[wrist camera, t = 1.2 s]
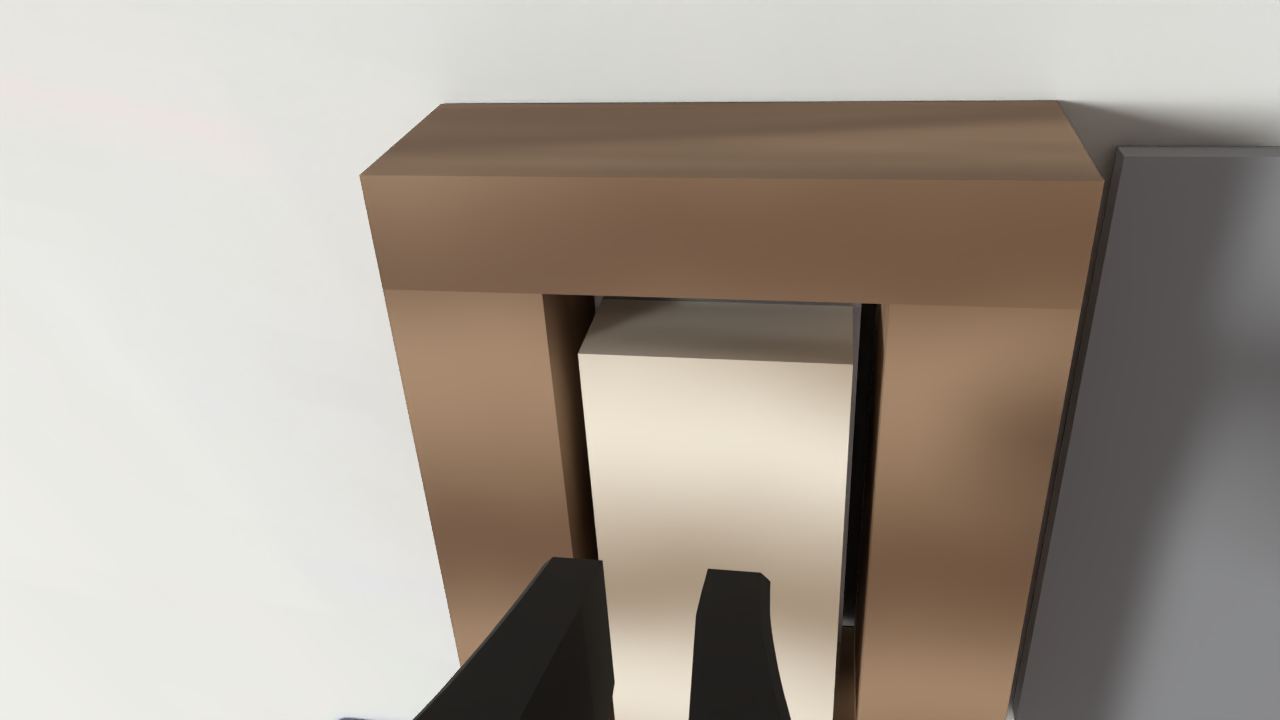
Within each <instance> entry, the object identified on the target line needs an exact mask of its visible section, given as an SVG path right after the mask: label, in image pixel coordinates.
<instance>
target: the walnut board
mask: <svg viewBox="0 0 1280 720" xmlns="http://www.w3.org/2000/svg"><path fill="white" fill-rule="evenodd" d="M359 176H360V180H361V185H362V190H363V195H364V200H365V205H366V210H367V214H368V219H369V224H370V229H371V234H372V239H373V244H374V248H375V253H376V258H377V263H378V268H379V273H380V278H381V282H382V287H383V292H384V297H385V302H386V307H387V312H388V316H389V321H390V326H391V331H392V336H393V341H394V346H395V350H396V355H397V360H398V365H399V370H400V375H401V380H402V384H403V389H404V394H405V399H406V404H407V409H408V414H409V419H410V423H411V428H412V433H413V438H414V443H415V448H416V453H417V457H418V462H419V467H420V472H421V477H422V482H423V487H424V491H425V496H426V501H427V506H428V511H429V516H430V521H431V525H432V530H433V535H434V540H435V545H436V550H437V555H438V559H439V564H440V569H441V574H442V579H443V584H444V589H445V593H446V598H447V603H448V608H449V613H450V618H451V623H452V627H453V632H454V637H455V642H456V647H457V652H458V657H459V661H460V666H462V665H463V664H464V663H465V662H466V661H467V660H468V658H469V657H470V656H471V655H472V654H473V653H474V651H475V650H476V649H477V648H478V647H479V646H480V645H481V643H482V642H483V641H484V640H485V639H486V637H487V636H488V635H489V634H490V633H491V631H492V630H493V629H494V628H495V626H496V625H497V624H498V623H499V621H500V620H501V619H502V618H503V617H504V615H505V614H506V613H507V612H508V610H509V609H510V608H511V607H512V605H513V604H514V603H515V601H516V600H517V599H518V598H519V596H520V595H521V594H522V592H523V591H524V590H525V589H526V587H527V586H528V585H529V583H530V582H531V581H532V579H533V578H534V577H535V575H536V574H537V573H538V571H539V570H540V569H541V567H542V566H543V565H544V564H545V563H546V562H547V561H548V560H549V559H551V558H552V557H564V558H577V559H590V560H599V557H598V548H597V538H596V528H595V518H594V508H593V498H592V488H591V479H590V469H589V459H588V449H587V439H586V429H585V419H584V409H583V400H582V390H581V380H580V370H579V360H578V352H579V350H580V348H581V346H582V343H583V341H584V339H585V337H586V334H587V332H588V330H589V328H590V325H591V323H592V321H593V319H594V316H595V314H596V312H595V301H594V295H595V296H630V297H664V298H699V299H733V300H767V301H802V302H836V303H870V304H876V316H875V331H874V345H873V360H872V375H871V389H870V404H869V418H868V433H867V448H866V462H865V477H864V491H863V506H862V520H861V535H860V550H859V564H858V579H857V593H856V608H855V623H854V628H852V627H842V635H841V652H840V669H839V674H835V687H834V704H833V720H1006V715H1007V710H1008V704H1009V699H1010V693H1011V688H1012V682H1013V677H1014V672H1015V666H1016V661H1017V655H1018V650H1019V644H1020V639H1021V633H1022V628H1023V622H1024V617H1025V612H1026V606H1027V601H1028V595H1029V590H1030V584H1031V579H1032V573H1033V568H1034V563H1035V557H1036V552H1037V546H1038V541H1039V535H1040V530H1041V524H1042V519H1043V514H1044V508H1045V503H1046V497H1047V492H1048V486H1049V481H1050V475H1051V470H1052V465H1053V459H1054V454H1055V448H1056V443H1057V437H1058V432H1059V426H1060V421H1061V416H1062V410H1063V405H1064V399H1065V394H1066V388H1067V383H1068V377H1069V372H1070V366H1071V361H1072V356H1073V350H1074V345H1075V339H1076V334H1077V328H1078V323H1079V317H1080V312H1081V307H1082V301H1083V296H1084V290H1085V285H1086V279H1087V274H1088V268H1089V263H1090V258H1091V252H1092V247H1093V241H1094V236H1095V230H1096V225H1097V219H1098V214H1099V209H1100V203H1101V198H1102V192H1103V187H1104V179H1103V178H1102V176H1101V174H1100V173H1099V171H1098V169H1097V168H1096V166H1095V164H1094V163H1093V161H1092V159H1091V158H1090V156H1089V154H1088V152H1087V151H1086V149H1085V147H1084V146H1083V144H1082V142H1081V141H1080V139H1079V137H1078V136H1077V134H1076V132H1075V130H1074V129H1073V127H1072V125H1071V124H1070V122H1069V120H1068V119H1067V117H1066V115H1065V114H1064V112H1063V110H1062V109H1061V107H1060V105H1059V103H1058V102H1057V101H899V102H710V103H520V104H440V105H439V106H438V107H437V108H436V109H435V110H434V111H432V112H431V113H430V114H429V115H428V116H427V117H426V118H424V119H423V120H422V121H421V122H420V123H419V124H418V125H416V126H415V127H414V128H413V129H412V130H411V131H410V132H408V133H407V134H406V135H405V136H404V137H403V138H402V139H400V140H399V141H398V142H397V143H396V144H395V145H394V146H392V147H391V148H390V149H389V150H388V151H387V152H386V153H384V154H383V155H382V156H381V157H380V158H379V159H378V160H376V161H375V162H374V163H373V164H372V165H371V166H369V167H368V168H367V169H366V170H365V171H364V172H363V173H361V174H360V175H359ZM608 720H615V715H614V705H613V696H612V702H611V708H610V713H609V719H608Z"/></svg>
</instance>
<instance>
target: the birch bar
mask: <svg viewBox="0 0 1280 720" xmlns="http://www.w3.org/2000/svg"><path fill="white" fill-rule="evenodd" d="M578 360H579V370H580V380H581V390H582V400H583V409H584V419H585V429H586V439H587V449H588V459H589V469H590V479H591V488H592V498H593V508H594V518H595V528H596V538H597V548H598V557H599V560H603V568H604V578H605V589H606V599H607V609H608V619H609V629H610V639H611V649H612V660H613V670H614V680H615V685H614V690H613V705H614V715H615V720H689V706H690V692H691V677H692V662H693V648H694V634H695V620H696V612H697V608H698V604H699V600H700V596H701V592H702V588H703V584H704V581H705V577H706V574H707V570H708V569H721V570H734V571H747V572H760V573H762V574H763V575H764V576H765V577H766V578H767V579H769V580H770V581H771V582H770V618H771V627H772V635H773V642H774V647H775V653H776V659H777V664H778V669H779V674H780V678H781V683H782V687H783V691H784V695H785V699H786V702H787V706H788V710H789V714H790V717H791V720H833V704H834V687H835V670H836V652H837V635H838V617H839V600H840V583H841V565H842V548H843V530H844V513H845V496H846V478H847V461H848V443H849V426H850V409H851V391H852V374H853V306H824V305H790V304H756V303H723V302H689V301H655V300H622V299H602V301H601V303H600V305H599V307H598V310H597V312H596V314H595V316H594V319H593V321H592V323H591V325H590V328H589V330H588V332H587V334H586V337H585V339H584V341H583V343H582V346H581V348H580V350H579V352H578Z"/></svg>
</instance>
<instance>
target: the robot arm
mask: <svg viewBox="0 0 1280 720" xmlns="http://www.w3.org/2000/svg"><path fill="white" fill-rule="evenodd" d="M770 582H771V581H770V580H769V579H767V578H766V577H765V576H764V575H763V574H762V573H760V572H747V571H734V570H721V569H708V570H707V574H706V577H705V581H704V584H703V588H702V592H701V596H700V600H699V604H698V608H697V612H696V620H695V634H694V648H693V662H692V677H691V692H690V706H689V720H791V717H790V714H789V710H788V706H787V702H786V699H785V695H784V691H783V687H782V683H781V678H780V674H779V669H778V664H777V659H776V653H775V647H774V642H773V635H772V627H771V618H770ZM614 685H615V680H614V670H613V660H612V649H611V639H610V629H609V619H608V609H607V599H606V589H605V578H604V568H603V560H590V559H577V558H564V557H552V558H551V559H549V560H548V561H547V562H546V563H545V564H544V565H543V566H542V567H541V569H540V570H539V571H538V573H537V574H536V575H535V577H534V578H533V579H532V581H531V582H530V583H529V585H528V586H527V587H526V589H525V590H524V591H523V592H522V594H521V595H520V596H519V598H518V599H517V600H516V601H515V603H514V604H513V605H512V607H511V608H510V609H509V610H508V612H507V613H506V614H505V615H504V617H503V618H502V619H501V620H500V621H499V623H498V624H497V625H496V626H495V628H494V629H493V630H492V631H491V633H490V634H489V635H488V636H487V637H486V639H485V640H484V641H483V642H482V643H481V645H480V646H479V647H478V648H477V649H476V650H475V651H474V653H473V654H472V655H471V656H470V657H469V658H468V660H467V661H466V662H465V663H464V664H463V665H462V666H461V668H460V669H459V670H458V671H457V672H456V673H455V675H454V676H453V677H452V678H451V679H450V680H449V681H448V683H447V684H446V685H445V686H444V687H443V688H442V689H441V690H440V692H439V693H438V694H437V695H436V696H435V697H434V698H433V699H432V700H431V701H430V702H429V703H428V704H427V705H426V707H425V708H424V709H423V710H422V711H421V712H420V713H419V714H418V715H417V716H416V717H415V718H414V719H413V720H608V719H609V713H610V708H611V702H612V696H613V690H614Z"/></svg>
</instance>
